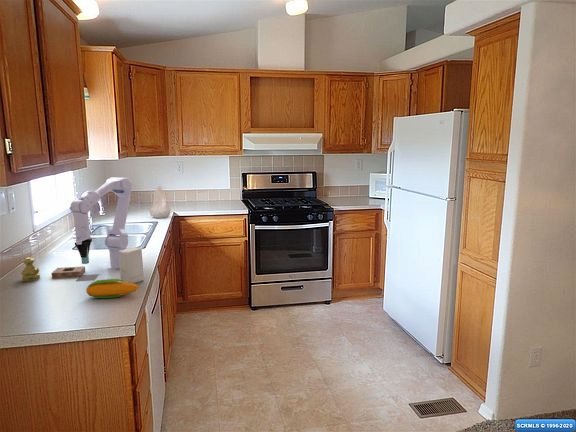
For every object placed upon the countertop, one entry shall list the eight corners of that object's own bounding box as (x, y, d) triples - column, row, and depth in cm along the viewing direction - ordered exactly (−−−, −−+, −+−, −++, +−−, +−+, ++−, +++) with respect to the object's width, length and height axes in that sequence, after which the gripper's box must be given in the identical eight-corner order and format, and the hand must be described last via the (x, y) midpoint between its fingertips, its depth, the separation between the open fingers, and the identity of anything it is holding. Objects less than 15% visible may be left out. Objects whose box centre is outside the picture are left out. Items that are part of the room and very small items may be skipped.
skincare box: (136, 277, 195) (134, 246, 192) (144, 280, 191) (142, 248, 189) (120, 283, 188) (117, 250, 185) (128, 285, 185) (125, 252, 182)
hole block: (85, 272, 203) (84, 266, 202) (80, 277, 195) (80, 271, 194) (58, 273, 201) (57, 267, 200) (52, 279, 193) (51, 273, 192)
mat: (99, 274, 199) (99, 273, 199) (94, 281, 191) (94, 280, 190) (81, 275, 198) (81, 275, 198) (75, 282, 189) (75, 281, 189)
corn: (88, 276, 173) (139, 274, 176) (90, 294, 174) (141, 291, 178) (82, 284, 165) (136, 281, 169) (85, 302, 167) (138, 298, 171)
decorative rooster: (150, 216, 346) (148, 185, 342) (170, 215, 351) (168, 184, 346) (149, 221, 323) (147, 189, 318) (171, 220, 327) (169, 188, 323)
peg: (89, 261, 195) (88, 242, 193) (88, 263, 192) (86, 244, 190) (82, 262, 194) (81, 243, 193) (80, 264, 191) (79, 244, 190)
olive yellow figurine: (21, 283, 188) (18, 261, 186) (21, 278, 194) (18, 257, 192) (40, 280, 192) (38, 258, 190) (40, 275, 198) (37, 254, 196)
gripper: (77, 223, 196) (79, 252, 199) (67, 230, 182) (70, 261, 185) (93, 223, 198) (96, 251, 200) (85, 229, 184) (87, 260, 186)
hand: (84, 256), depth 192 cm, fingers closed on peg, 3 cm apart
